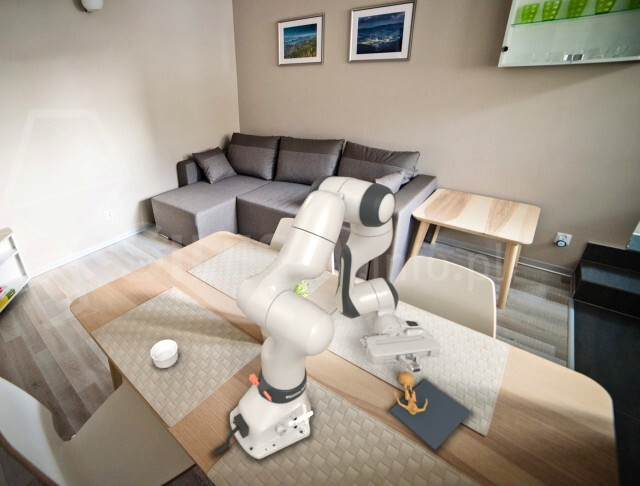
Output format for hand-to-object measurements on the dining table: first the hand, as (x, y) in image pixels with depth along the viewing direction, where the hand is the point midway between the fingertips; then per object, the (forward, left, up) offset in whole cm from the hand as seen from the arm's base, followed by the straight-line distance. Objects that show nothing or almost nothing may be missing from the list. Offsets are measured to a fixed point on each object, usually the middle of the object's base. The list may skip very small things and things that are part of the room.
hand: (416, 370), depth 88 cm
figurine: (+2, +4, -8) cm, 9 cm away
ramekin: (-53, +53, -9) cm, 75 cm away
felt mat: (-2, -6, -8) cm, 10 cm away
